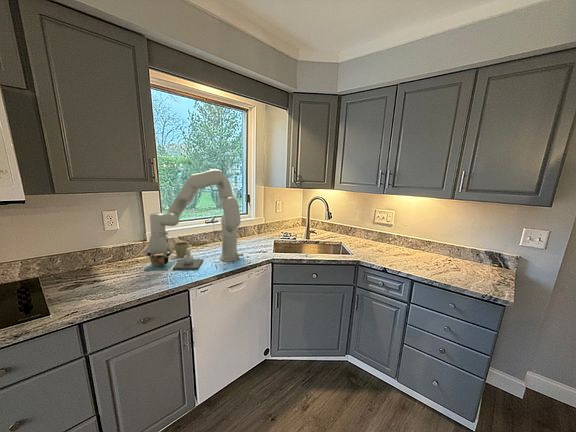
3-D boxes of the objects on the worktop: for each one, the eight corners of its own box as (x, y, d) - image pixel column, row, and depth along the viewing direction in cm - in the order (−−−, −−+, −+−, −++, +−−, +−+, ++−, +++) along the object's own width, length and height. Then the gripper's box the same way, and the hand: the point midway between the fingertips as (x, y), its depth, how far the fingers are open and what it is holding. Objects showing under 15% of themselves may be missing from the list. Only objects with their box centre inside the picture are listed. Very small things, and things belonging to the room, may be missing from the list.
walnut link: (167, 261, 147) (167, 254, 146) (163, 265, 140) (163, 258, 140) (156, 261, 146) (155, 254, 145) (151, 265, 139) (151, 258, 139)
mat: (174, 262, 150) (174, 262, 150) (167, 270, 139) (167, 269, 138) (152, 263, 148) (152, 262, 148) (143, 270, 137) (143, 270, 137)
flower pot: (170, 257, 160) (170, 244, 158) (181, 253, 168) (180, 241, 167) (182, 259, 157) (181, 246, 155) (192, 255, 165) (191, 243, 164)
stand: (203, 261, 155) (202, 245, 153) (198, 269, 141) (197, 252, 139) (180, 261, 153) (179, 245, 151) (172, 270, 139) (172, 252, 138)
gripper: (176, 232, 145) (177, 261, 148) (145, 232, 143) (146, 261, 146) (171, 236, 138) (173, 265, 141) (139, 235, 135) (141, 266, 138)
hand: (159, 263), depth 143 cm, fingers closed on walnut link, 6 cm apart
